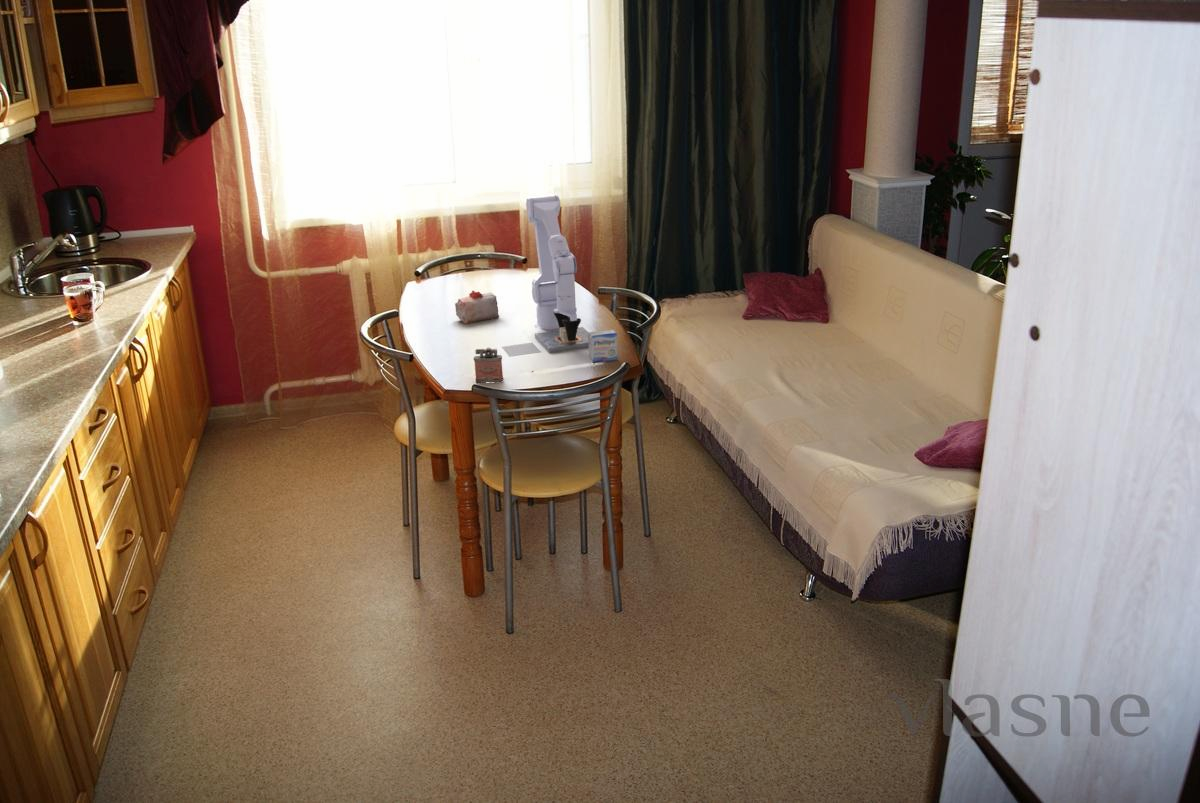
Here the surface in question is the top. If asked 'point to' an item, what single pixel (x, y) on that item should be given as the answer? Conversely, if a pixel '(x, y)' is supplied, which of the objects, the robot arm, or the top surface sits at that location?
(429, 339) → the top surface
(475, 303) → the food item
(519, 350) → the gray square plate
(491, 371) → the lighter
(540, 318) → the robot arm
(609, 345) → the medicine box
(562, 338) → the peg
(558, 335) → the hole plate
